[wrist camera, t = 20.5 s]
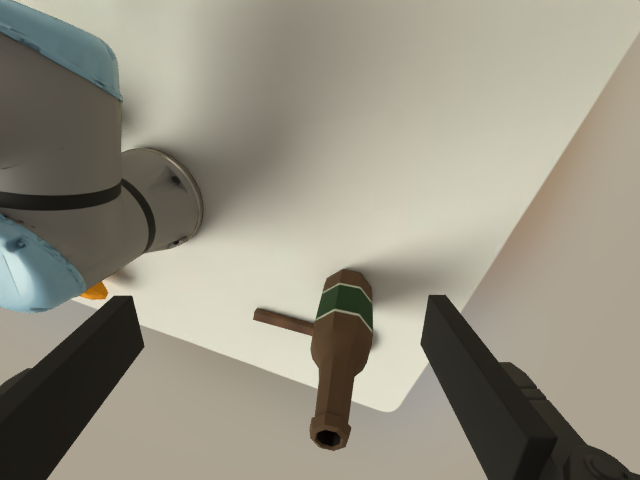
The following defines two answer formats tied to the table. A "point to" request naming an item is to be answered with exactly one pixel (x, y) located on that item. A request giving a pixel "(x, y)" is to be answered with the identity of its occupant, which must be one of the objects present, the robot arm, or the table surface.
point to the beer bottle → (340, 353)
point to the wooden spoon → (284, 322)
